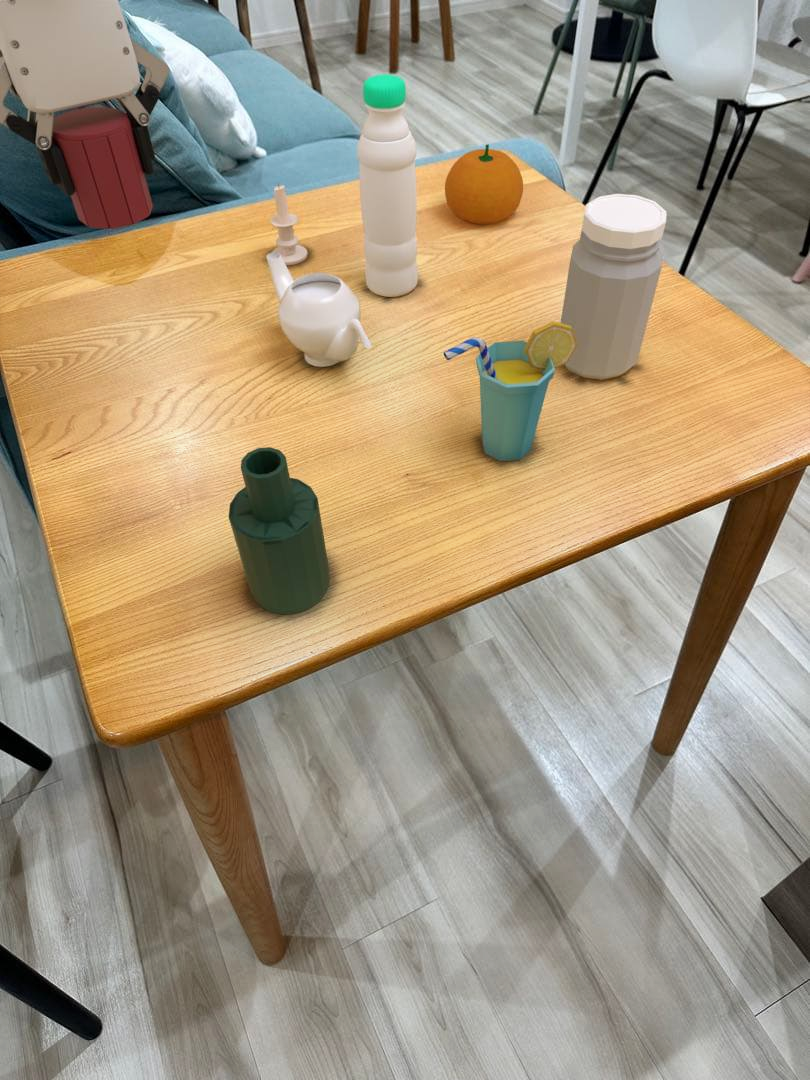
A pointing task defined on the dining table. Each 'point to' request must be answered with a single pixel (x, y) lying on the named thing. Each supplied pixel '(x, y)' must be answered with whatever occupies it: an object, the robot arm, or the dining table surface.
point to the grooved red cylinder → (103, 167)
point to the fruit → (484, 186)
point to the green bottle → (279, 535)
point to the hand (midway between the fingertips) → (105, 178)
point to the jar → (613, 283)
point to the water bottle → (388, 189)
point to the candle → (286, 230)
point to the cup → (516, 385)
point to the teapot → (317, 314)
